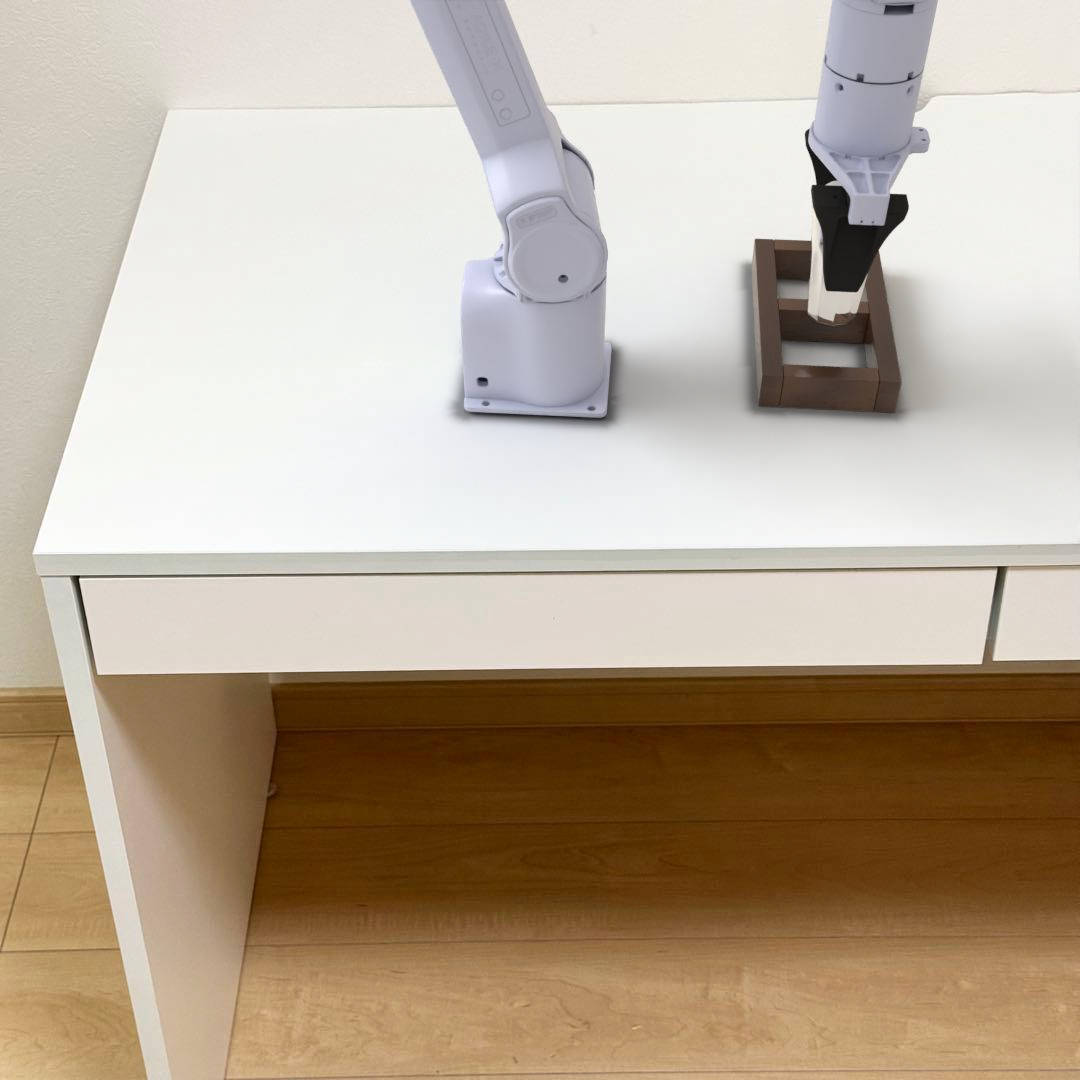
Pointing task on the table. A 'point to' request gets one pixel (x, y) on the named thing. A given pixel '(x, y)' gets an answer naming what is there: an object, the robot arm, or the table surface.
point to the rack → (819, 338)
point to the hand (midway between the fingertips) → (838, 264)
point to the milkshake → (819, 301)
